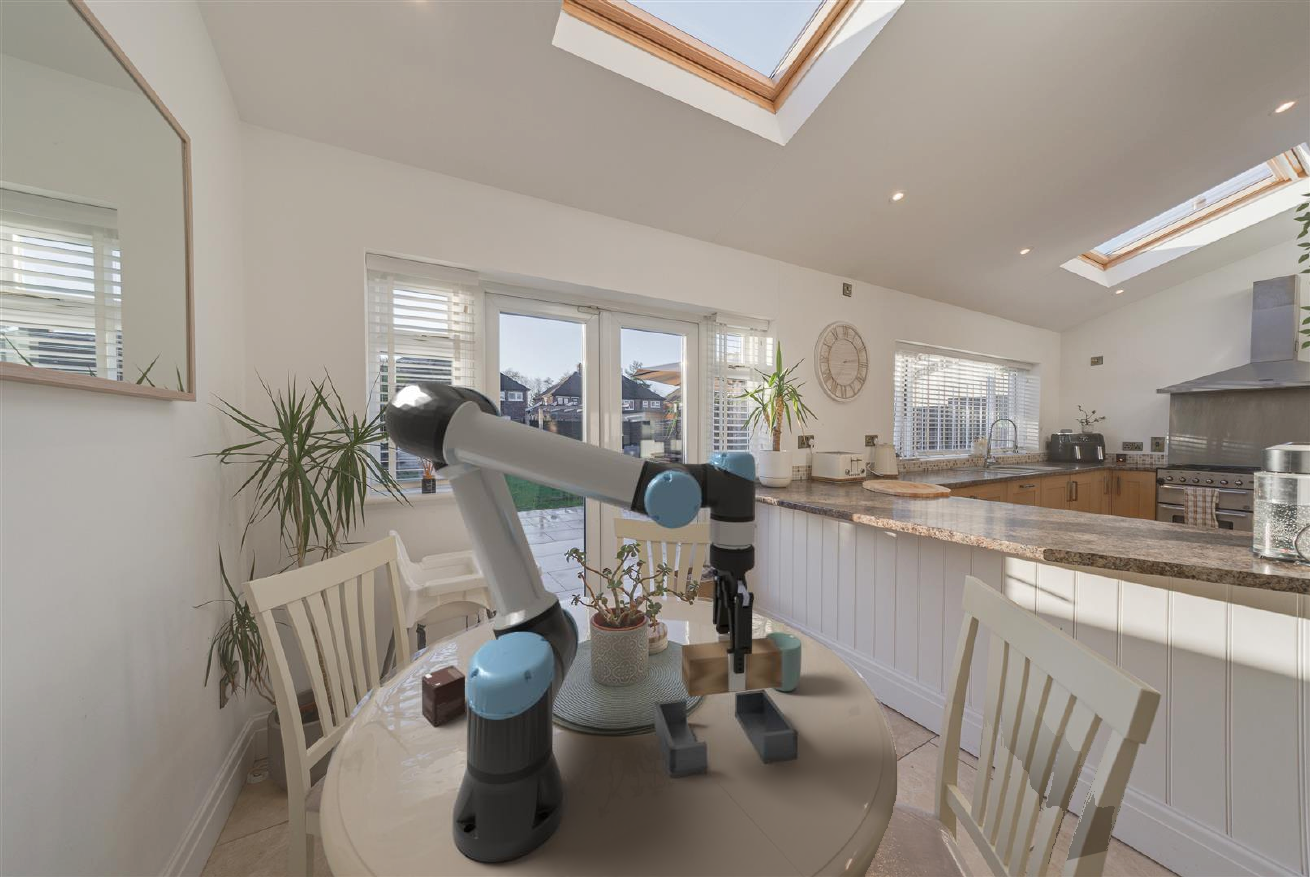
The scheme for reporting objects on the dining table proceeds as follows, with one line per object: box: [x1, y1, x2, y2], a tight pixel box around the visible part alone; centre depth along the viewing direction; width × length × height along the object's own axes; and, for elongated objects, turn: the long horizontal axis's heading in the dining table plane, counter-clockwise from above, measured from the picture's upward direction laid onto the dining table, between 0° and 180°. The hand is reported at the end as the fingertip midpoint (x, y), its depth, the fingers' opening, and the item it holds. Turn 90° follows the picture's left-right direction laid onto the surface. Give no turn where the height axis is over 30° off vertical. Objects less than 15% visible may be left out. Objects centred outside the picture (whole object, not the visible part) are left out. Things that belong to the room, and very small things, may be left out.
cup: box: [764, 631, 803, 692], centre depth 97 cm, size 8×8×10 cm
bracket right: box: [734, 689, 799, 764], centre depth 81 cm, size 6×13×4 cm, turn 12°
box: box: [421, 664, 466, 727], centre depth 86 cm, size 6×6×7 cm
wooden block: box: [681, 637, 782, 698], centre depth 76 cm, size 16×5×6 cm, turn 101°
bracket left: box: [653, 698, 708, 779], centre depth 77 cm, size 6×13×4 cm, turn 12°
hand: (730, 680), depth 76 cm, fingers closed on wooden block, 5 cm apart
